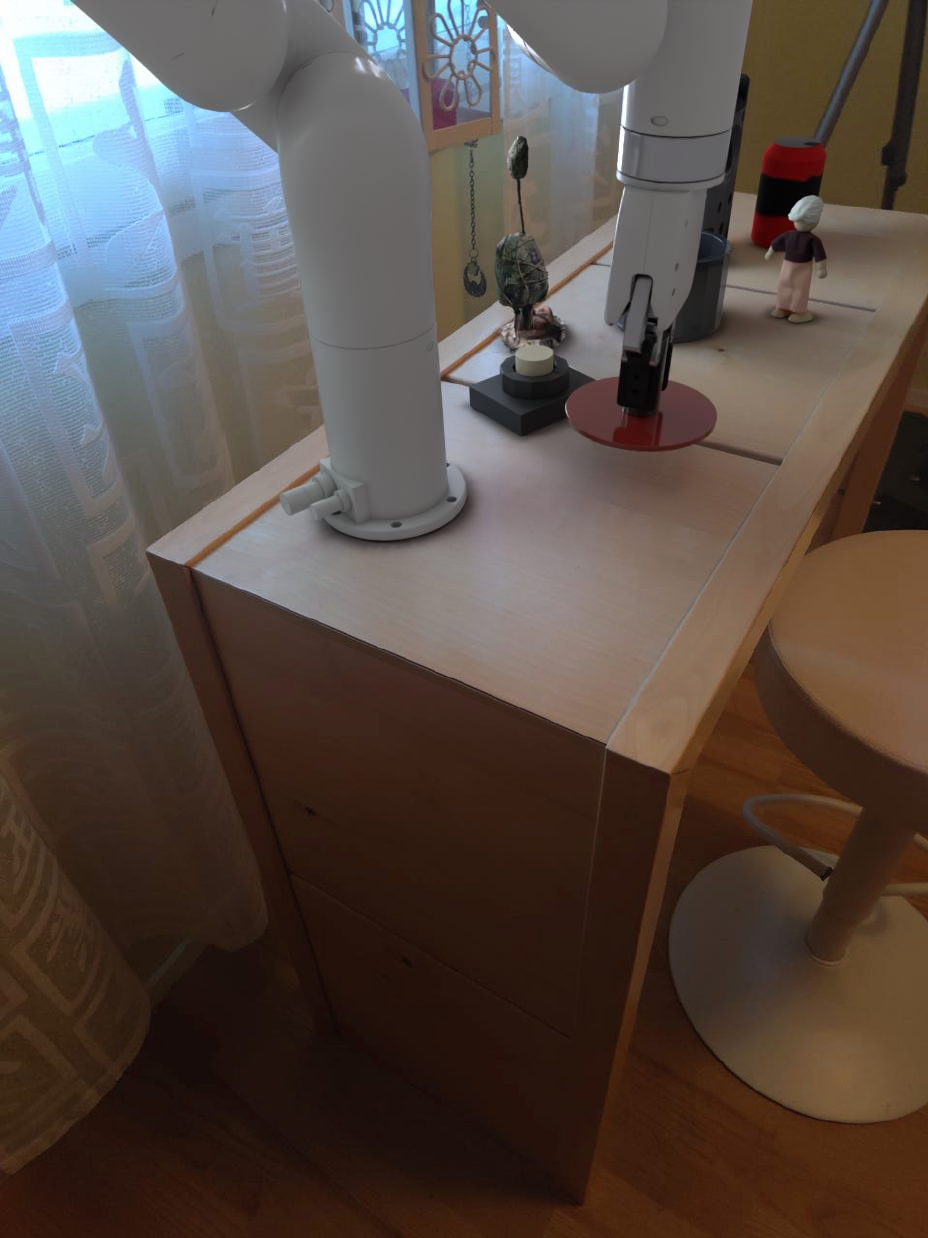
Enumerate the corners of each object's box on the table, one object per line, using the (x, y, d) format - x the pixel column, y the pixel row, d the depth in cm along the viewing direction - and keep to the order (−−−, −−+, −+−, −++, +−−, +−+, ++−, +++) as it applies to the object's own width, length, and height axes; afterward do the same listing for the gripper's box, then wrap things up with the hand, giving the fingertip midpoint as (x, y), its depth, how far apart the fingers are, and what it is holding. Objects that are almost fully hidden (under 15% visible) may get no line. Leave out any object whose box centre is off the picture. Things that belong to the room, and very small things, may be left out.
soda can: (791, 254, 115) (811, 152, 107) (739, 242, 119) (754, 144, 111) (819, 238, 119) (840, 138, 111) (768, 227, 123) (784, 131, 115)
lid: (639, 475, 69) (652, 384, 64) (534, 414, 76) (537, 329, 71) (746, 426, 74) (765, 338, 69) (638, 374, 82) (648, 292, 77)
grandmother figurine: (827, 316, 100) (853, 196, 91) (812, 328, 98) (838, 206, 89) (763, 301, 104) (783, 185, 95) (747, 312, 101) (767, 194, 93)
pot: (669, 352, 95) (678, 272, 89) (594, 320, 102) (598, 244, 96) (741, 321, 100) (753, 244, 94) (664, 293, 107) (672, 219, 101)
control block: (521, 436, 83) (520, 397, 80) (469, 406, 88) (467, 368, 85) (599, 402, 87) (601, 364, 85) (546, 375, 92) (546, 338, 90)
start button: (532, 381, 83) (532, 364, 82) (508, 369, 85) (507, 352, 84) (561, 370, 85) (561, 352, 84) (536, 358, 87) (536, 341, 86)
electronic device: (704, 270, 112) (728, 89, 99) (660, 263, 114) (677, 86, 101) (729, 247, 118) (754, 73, 105) (686, 241, 120) (706, 70, 107)
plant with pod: (472, 354, 97) (463, 153, 84) (520, 315, 104) (519, 125, 91) (539, 368, 93) (540, 161, 80) (583, 327, 101) (592, 131, 88)
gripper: (648, 124, 69) (624, 351, 81) (585, 180, 57) (568, 434, 69) (747, 132, 66) (707, 364, 78) (701, 191, 55) (663, 452, 67)
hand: (642, 395), depth 74 cm, fingers closed on lid, 3 cm apart
